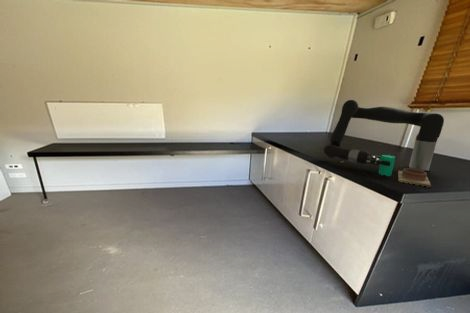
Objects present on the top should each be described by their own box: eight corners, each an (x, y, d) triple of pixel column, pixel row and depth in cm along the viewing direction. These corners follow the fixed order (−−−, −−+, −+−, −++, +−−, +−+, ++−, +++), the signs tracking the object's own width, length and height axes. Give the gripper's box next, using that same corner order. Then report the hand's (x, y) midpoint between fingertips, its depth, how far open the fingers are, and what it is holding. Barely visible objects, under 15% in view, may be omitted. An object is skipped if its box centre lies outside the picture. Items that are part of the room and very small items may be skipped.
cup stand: (398, 172, 117) (399, 165, 116) (426, 177, 110) (428, 169, 109) (398, 181, 103) (400, 173, 102) (430, 187, 96) (432, 179, 95)
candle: (376, 174, 114) (381, 153, 110) (379, 171, 118) (383, 151, 115) (390, 177, 110) (395, 155, 106) (392, 174, 114) (397, 153, 110)
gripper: (355, 152, 116) (390, 158, 105) (363, 148, 126) (396, 153, 114) (353, 164, 118) (387, 172, 107) (361, 160, 128) (393, 166, 116)
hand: (391, 162), depth 110 cm, fingers open, 7 cm apart
